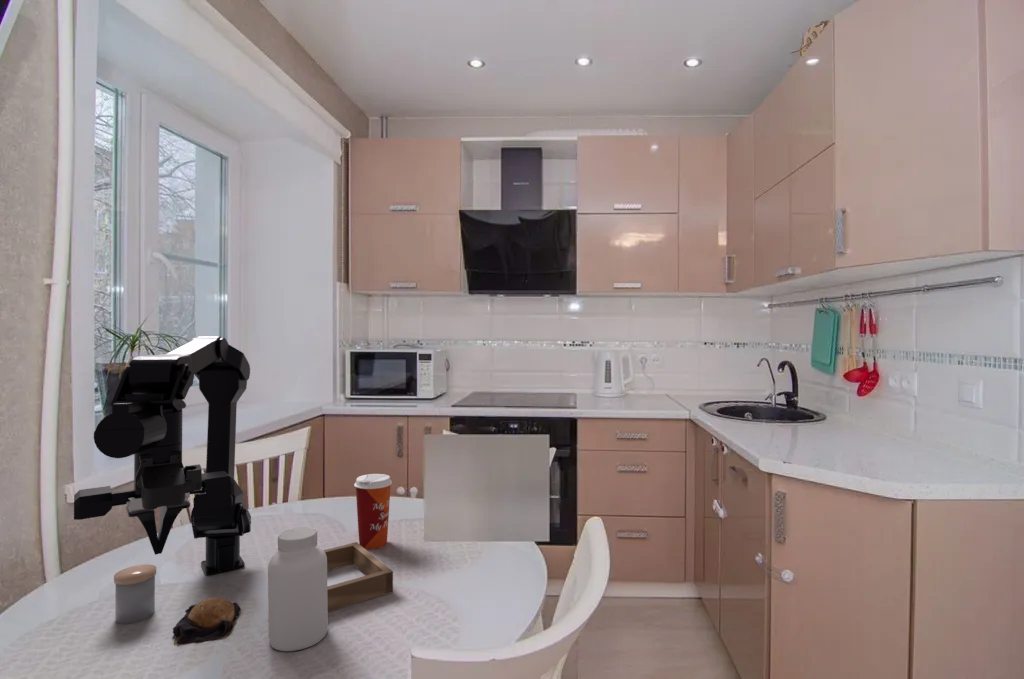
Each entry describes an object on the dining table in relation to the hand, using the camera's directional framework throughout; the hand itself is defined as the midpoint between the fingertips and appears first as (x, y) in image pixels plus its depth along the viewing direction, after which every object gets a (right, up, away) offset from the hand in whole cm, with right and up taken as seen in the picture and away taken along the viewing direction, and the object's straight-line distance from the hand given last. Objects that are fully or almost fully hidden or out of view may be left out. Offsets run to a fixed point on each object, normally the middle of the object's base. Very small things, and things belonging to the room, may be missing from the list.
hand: (157, 553), depth 76 cm
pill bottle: (+20, -13, +1) cm, 23 cm away
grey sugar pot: (-8, -12, +7) cm, 16 cm away
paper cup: (+21, -13, +36) cm, 44 cm away
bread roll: (+5, -13, +4) cm, 15 cm away
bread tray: (+19, -12, +16) cm, 28 cm away
